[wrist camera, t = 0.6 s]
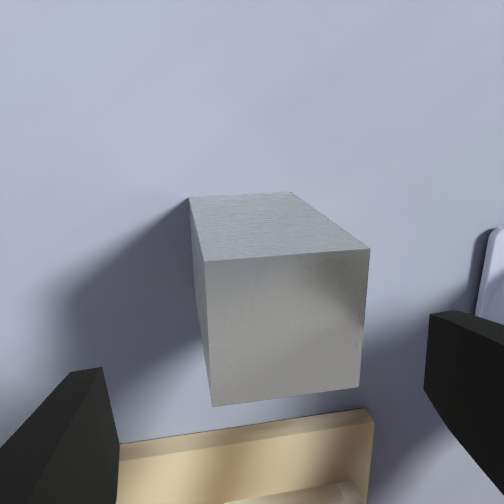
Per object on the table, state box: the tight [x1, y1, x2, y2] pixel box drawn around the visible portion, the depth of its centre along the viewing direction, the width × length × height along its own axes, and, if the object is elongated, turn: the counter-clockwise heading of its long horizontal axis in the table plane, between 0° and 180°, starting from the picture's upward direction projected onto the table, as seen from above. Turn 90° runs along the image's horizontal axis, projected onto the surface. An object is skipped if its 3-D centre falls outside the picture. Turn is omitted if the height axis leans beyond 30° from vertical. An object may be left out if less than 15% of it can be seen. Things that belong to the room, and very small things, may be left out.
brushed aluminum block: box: [189, 192, 370, 407], centre depth 14 cm, size 4×4×7 cm
